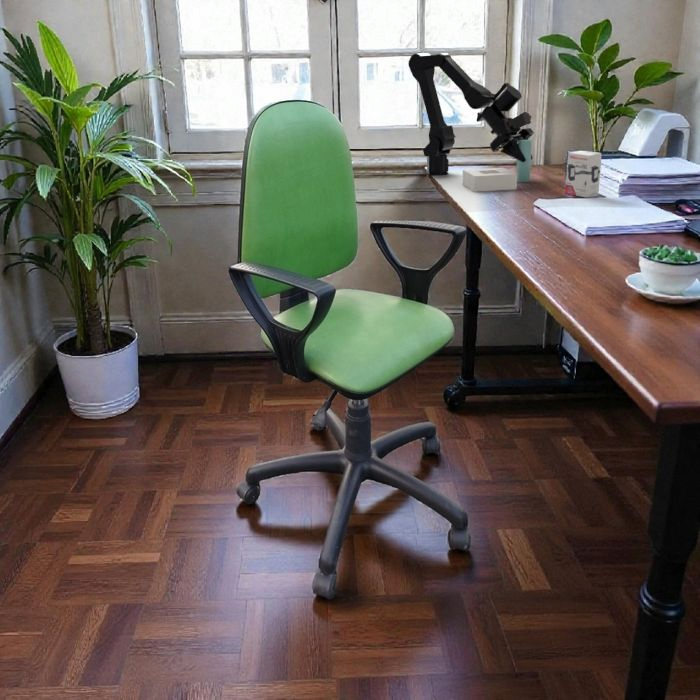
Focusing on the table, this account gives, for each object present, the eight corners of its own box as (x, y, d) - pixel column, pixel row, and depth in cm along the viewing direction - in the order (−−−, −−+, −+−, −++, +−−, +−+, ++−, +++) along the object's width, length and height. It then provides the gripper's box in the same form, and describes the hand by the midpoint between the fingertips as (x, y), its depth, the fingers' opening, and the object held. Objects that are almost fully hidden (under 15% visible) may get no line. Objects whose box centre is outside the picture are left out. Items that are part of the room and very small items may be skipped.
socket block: (474, 191, 226) (474, 176, 224) (462, 184, 238) (462, 169, 236) (516, 189, 227) (517, 174, 226) (502, 182, 239) (503, 167, 237)
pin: (519, 182, 237) (521, 141, 233) (514, 180, 241) (516, 140, 236) (531, 182, 238) (533, 140, 233) (527, 180, 241) (529, 139, 237)
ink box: (564, 193, 219) (567, 151, 214) (576, 191, 221) (579, 150, 217) (586, 197, 212) (590, 154, 207) (599, 195, 214) (603, 152, 210)
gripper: (500, 106, 227) (531, 146, 224) (529, 101, 240) (560, 139, 237) (476, 132, 234) (506, 171, 232) (506, 126, 247) (535, 163, 245)
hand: (528, 160), depth 236 cm, fingers closed on pin, 4 cm apart
